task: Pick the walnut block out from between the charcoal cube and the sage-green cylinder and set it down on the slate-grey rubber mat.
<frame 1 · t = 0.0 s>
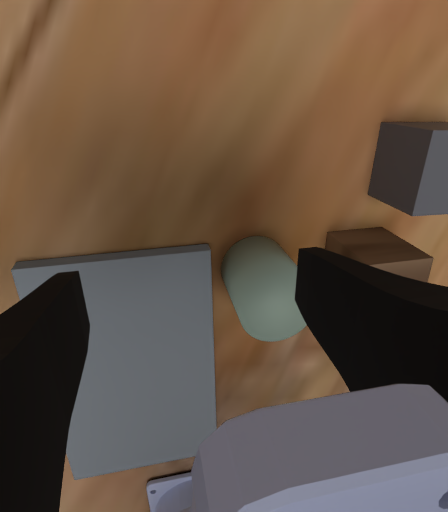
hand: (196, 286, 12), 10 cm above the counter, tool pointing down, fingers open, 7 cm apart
slate mat: (134, 368, 25), on the counter
walnut block: (350, 256, 25), on the counter
charcoal cube: (404, 158, 23), on the counter
sage cylinder: (253, 266, 24), on the counter
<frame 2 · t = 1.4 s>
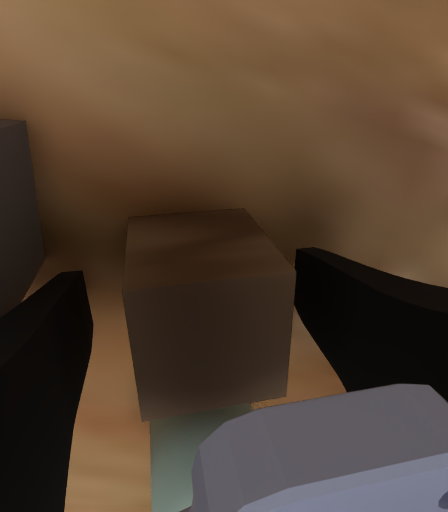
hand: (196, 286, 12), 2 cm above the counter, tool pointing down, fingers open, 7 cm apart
walnut block: (190, 263, 13), on the counter
sage cylinder: (198, 401, 16), on the counter
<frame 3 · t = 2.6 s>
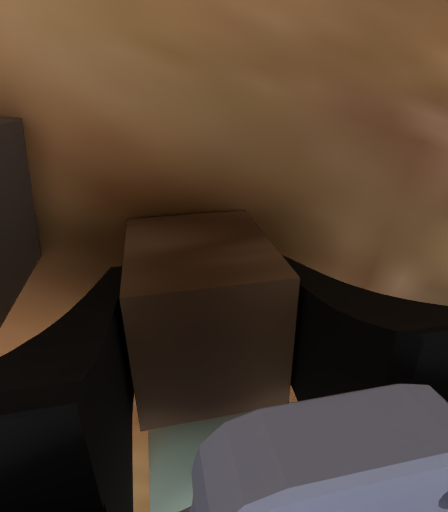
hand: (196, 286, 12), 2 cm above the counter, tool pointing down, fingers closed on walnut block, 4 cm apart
walnut block: (190, 266, 13), on the counter, touching gripper
sage cylinder: (196, 398, 17), on the counter
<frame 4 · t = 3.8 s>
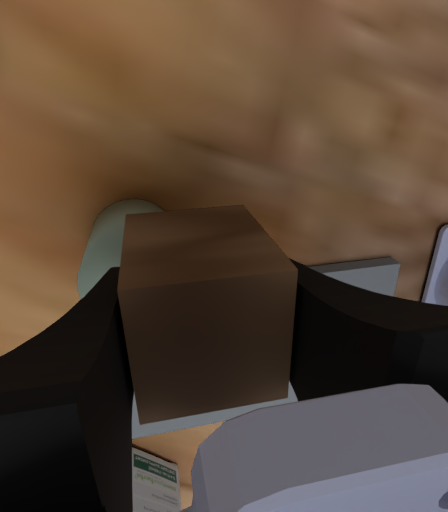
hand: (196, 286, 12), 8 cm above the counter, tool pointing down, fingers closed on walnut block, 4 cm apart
slate mat: (256, 344, 24), on the counter
walnut block: (189, 262, 13), point 7 cm above the counter, touching gripper
syrup box: (126, 472, 27), on the counter
sage cylinder: (134, 238, 20), on the counter
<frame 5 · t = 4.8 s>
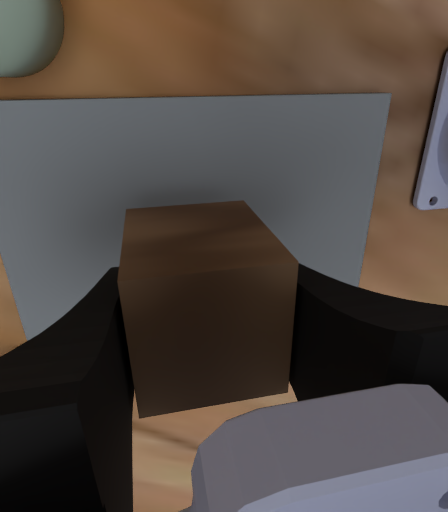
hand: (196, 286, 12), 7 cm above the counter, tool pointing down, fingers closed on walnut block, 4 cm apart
slate mat: (198, 215, 18), on the counter
walnut block: (189, 257, 13), point 5 cm above the counter, touching gripper
sage cylinder: (0, 10, 13), on the counter
when the fingers open (4 cm above the counter, at t = 5.7 s): walnut block drops 1 cm, resting on slate mat.
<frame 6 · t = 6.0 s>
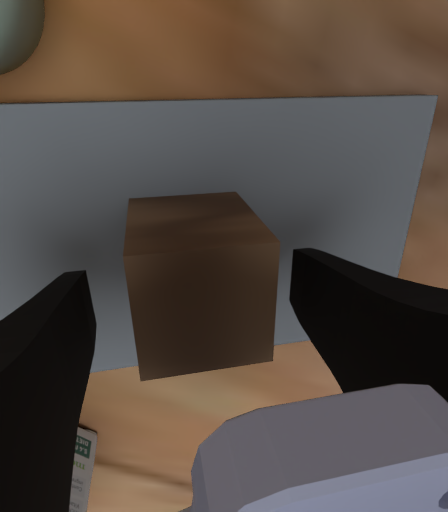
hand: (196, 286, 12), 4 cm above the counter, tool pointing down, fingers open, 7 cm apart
slate mat: (206, 238, 16), on the counter
walnut block: (186, 244, 14), point 1 cm above the counter, touching slate mat
syrup box: (19, 443, 19), on the counter
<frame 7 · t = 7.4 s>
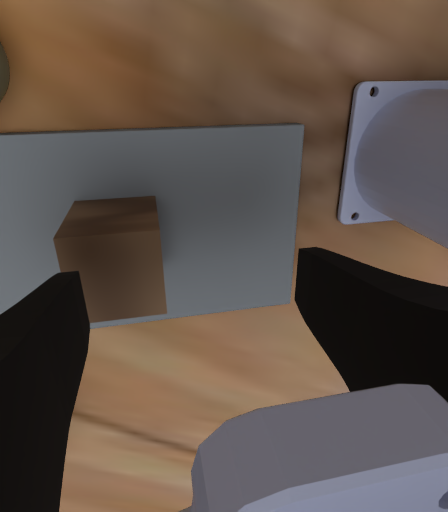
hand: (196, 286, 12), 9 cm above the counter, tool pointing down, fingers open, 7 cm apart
slate mat: (139, 230, 21), on the counter
walnut block: (120, 234, 19), point 1 cm above the counter, touching slate mat
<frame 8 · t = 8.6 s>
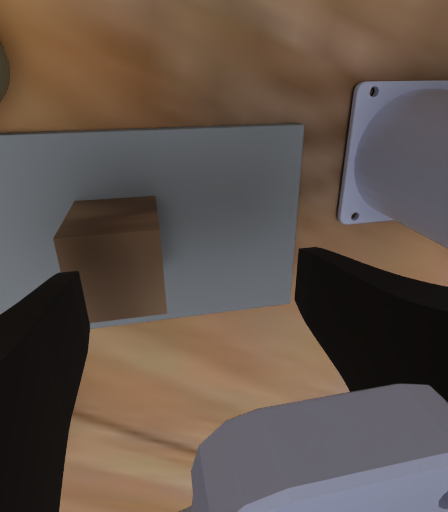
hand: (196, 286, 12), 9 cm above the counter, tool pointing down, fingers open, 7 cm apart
slate mat: (139, 230, 21), on the counter
walnut block: (120, 234, 19), point 1 cm above the counter, touching slate mat
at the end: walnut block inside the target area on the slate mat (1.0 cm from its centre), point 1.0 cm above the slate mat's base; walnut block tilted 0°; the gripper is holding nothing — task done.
